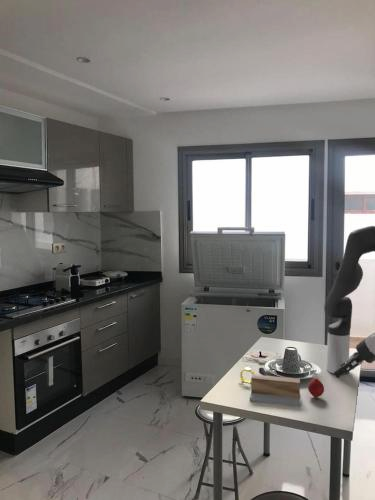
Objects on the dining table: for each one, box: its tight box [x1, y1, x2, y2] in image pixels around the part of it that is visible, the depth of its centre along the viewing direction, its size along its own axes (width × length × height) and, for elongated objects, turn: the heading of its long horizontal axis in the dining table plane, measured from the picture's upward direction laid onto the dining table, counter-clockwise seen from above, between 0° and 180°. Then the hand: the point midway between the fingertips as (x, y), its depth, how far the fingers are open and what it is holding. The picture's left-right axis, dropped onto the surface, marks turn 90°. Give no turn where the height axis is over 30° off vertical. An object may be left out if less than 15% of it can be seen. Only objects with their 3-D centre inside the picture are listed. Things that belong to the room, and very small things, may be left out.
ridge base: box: [249, 392, 300, 407], centre depth 164 cm, size 12×18×1 cm, turn 75°
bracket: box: [258, 367, 270, 376], centre depth 182 cm, size 14×15×3 cm
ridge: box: [250, 373, 301, 398], centre depth 164 cm, size 4×18×6 cm, turn 75°
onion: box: [307, 376, 325, 399], centre depth 163 cm, size 6×6×8 cm
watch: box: [239, 366, 256, 384], centre depth 177 cm, size 6×3×6 cm, turn 61°
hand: (339, 371), depth 157 cm, fingers open, 8 cm apart
